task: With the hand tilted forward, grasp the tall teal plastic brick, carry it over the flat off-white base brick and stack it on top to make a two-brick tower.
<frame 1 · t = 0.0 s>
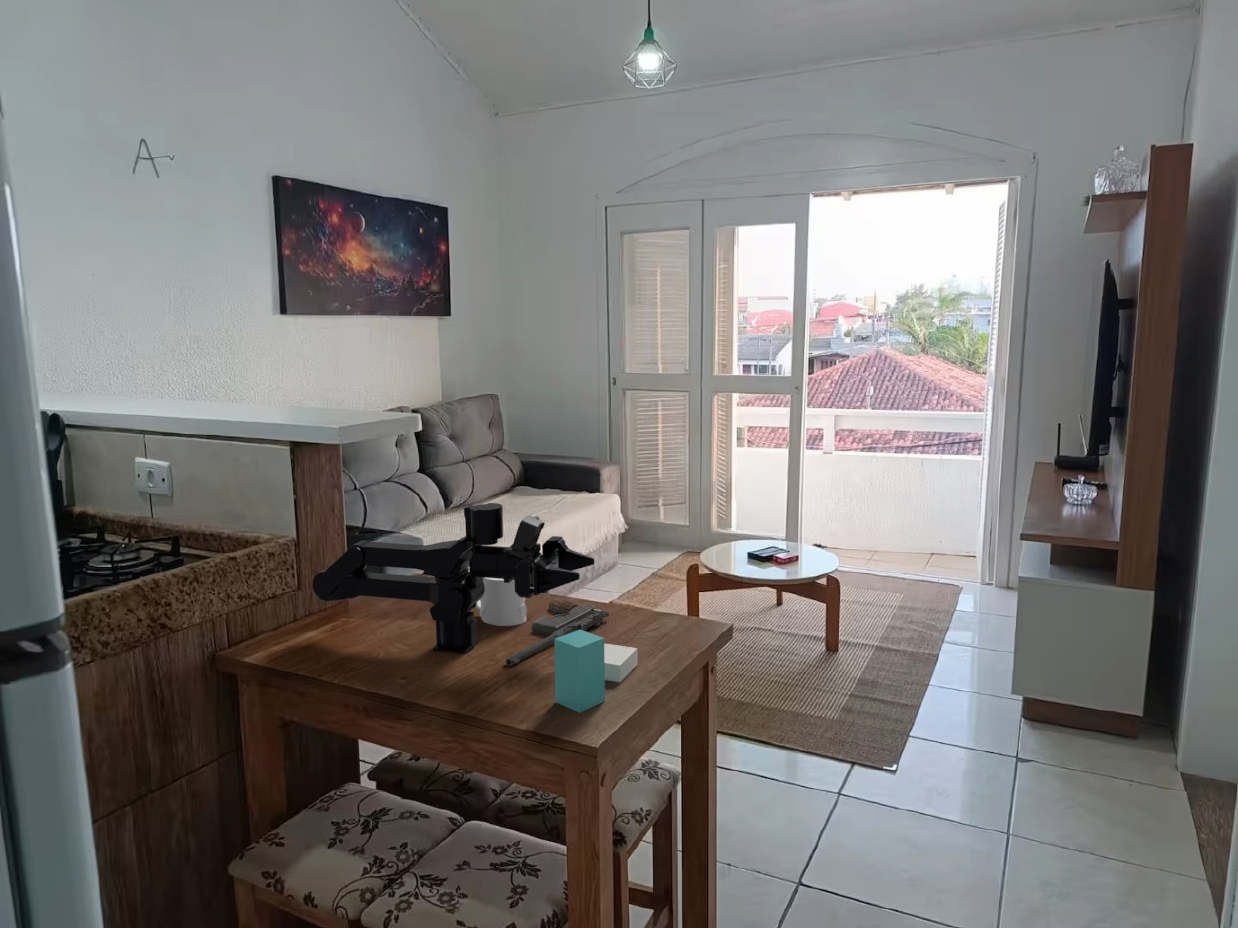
hand: (587, 568, 152), 17 cm above the table, tool horizontal, fingers open, 9 cm apart
tall brick: (580, 701, 138), on the table
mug: (498, 619, 176), on the table
base brick: (607, 669, 150), on the table
firearm: (539, 636, 168), on the table
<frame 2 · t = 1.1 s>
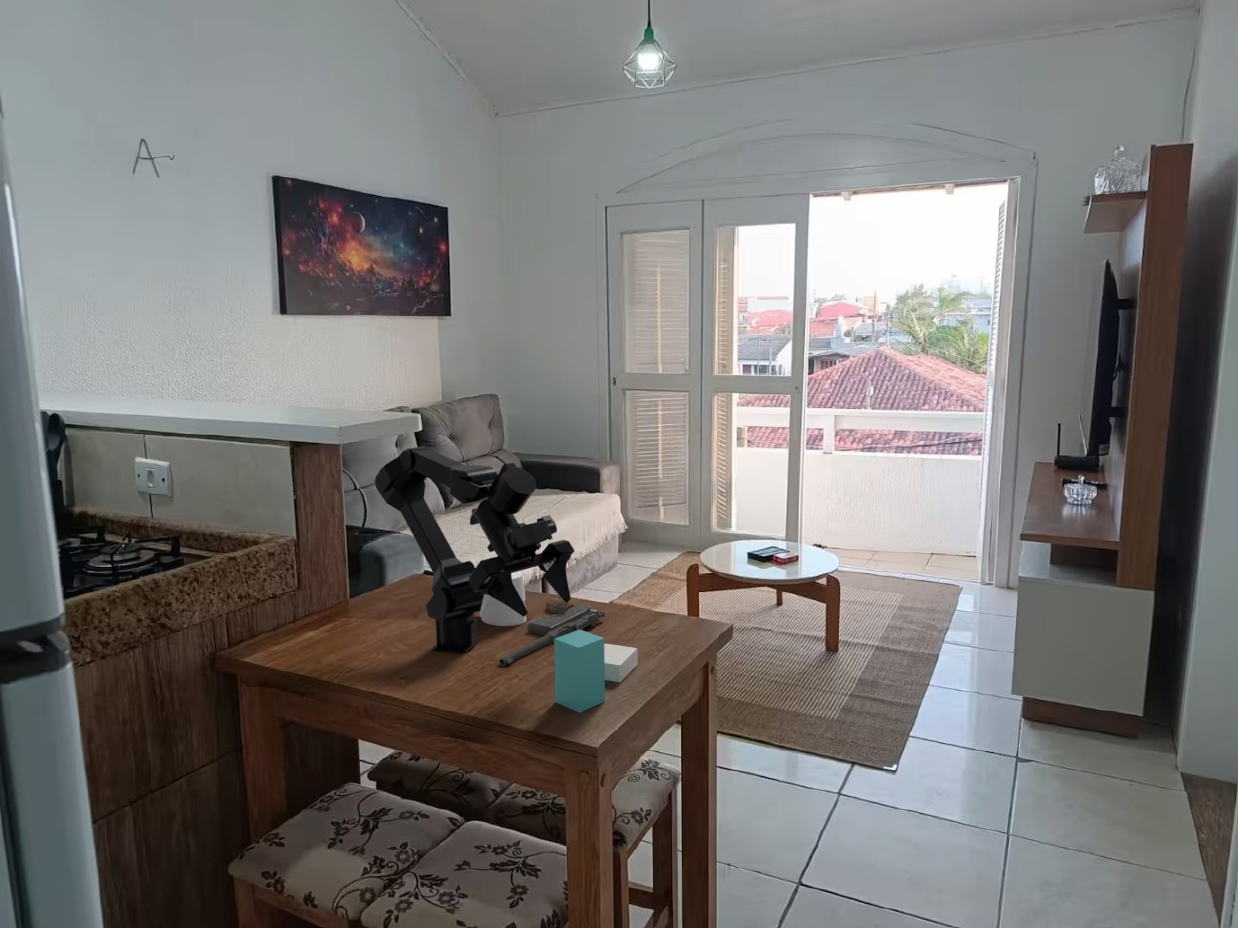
hand: (547, 607, 141), 14 cm above the table, tool tilted 45°, fingers open, 9 cm apart
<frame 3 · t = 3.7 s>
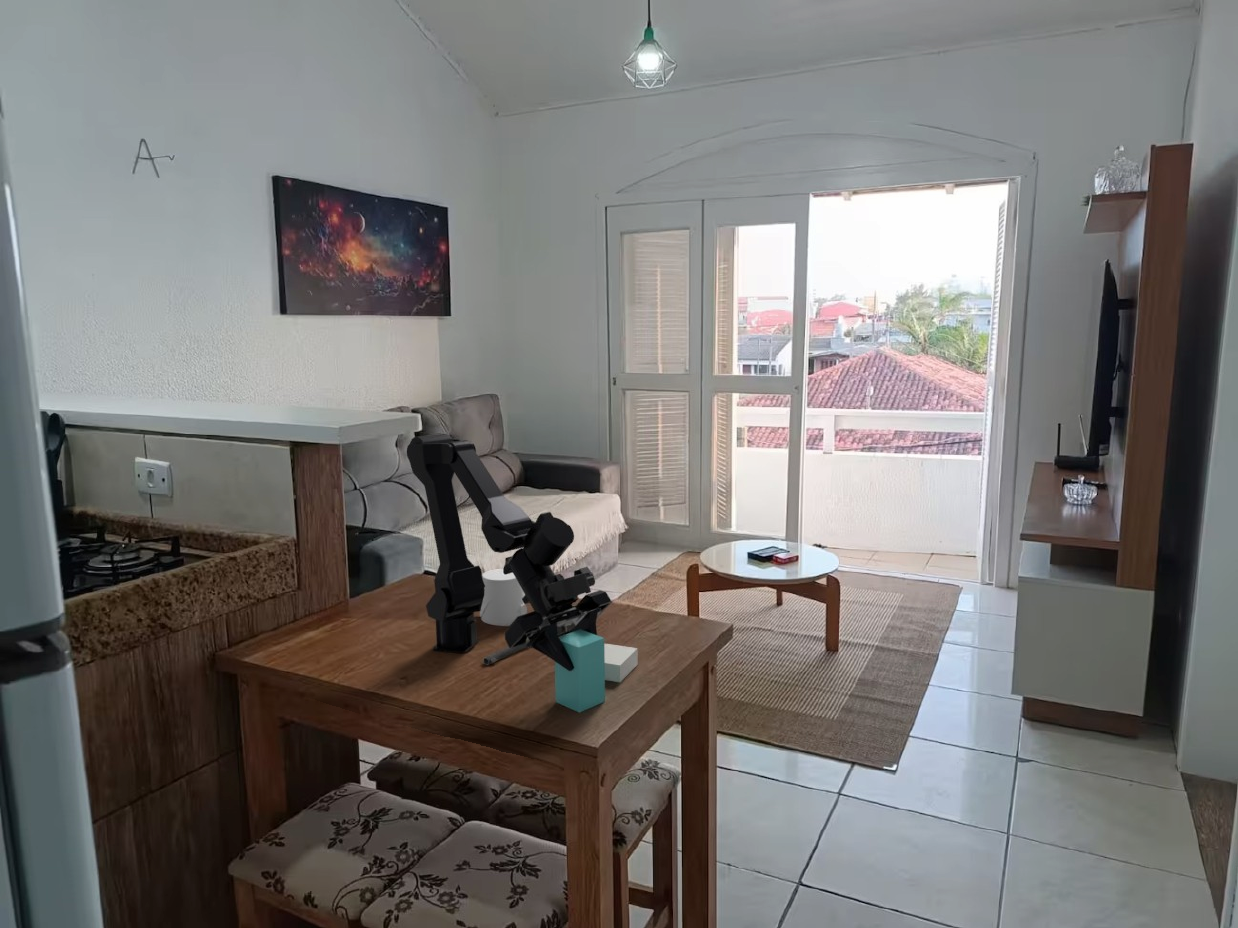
hand: (585, 664, 136), 7 cm above the table, tool tilted 45°, fingers closed on tall brick, 5 cm apart
tall brick: (580, 701, 138), on the table, touching gripper
firearm: (524, 636, 168), on the table
everything else where it was.
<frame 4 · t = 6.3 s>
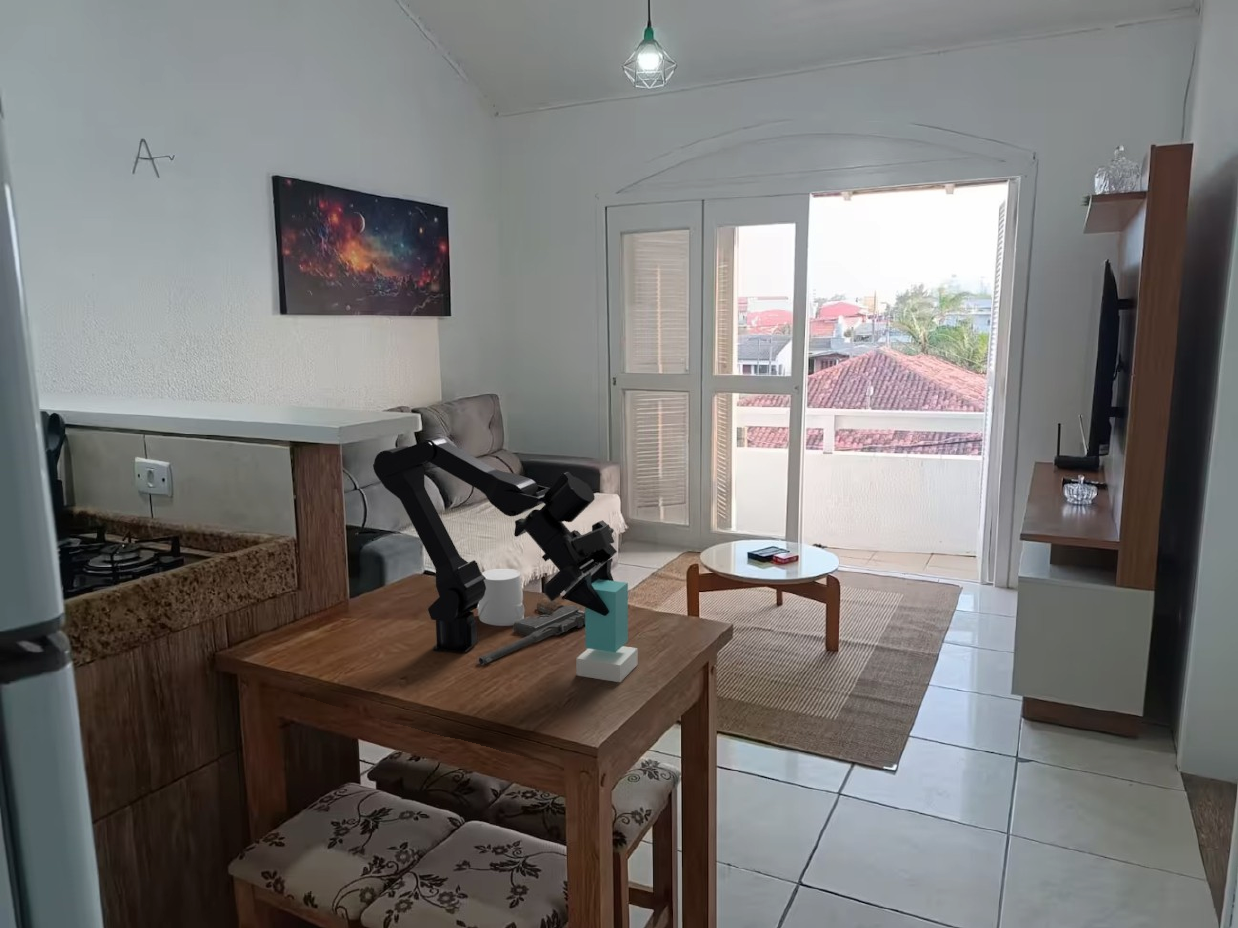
hand: (614, 608, 148), 11 cm above the table, tool tilted 45°, fingers closed on tall brick, 5 cm apart
tall brick: (606, 644, 149), point 5 cm above the table, touching gripper
when the fingers open (10 cm above the table, at t = 6.9 s): tall brick stays where it is, resting on base brick.
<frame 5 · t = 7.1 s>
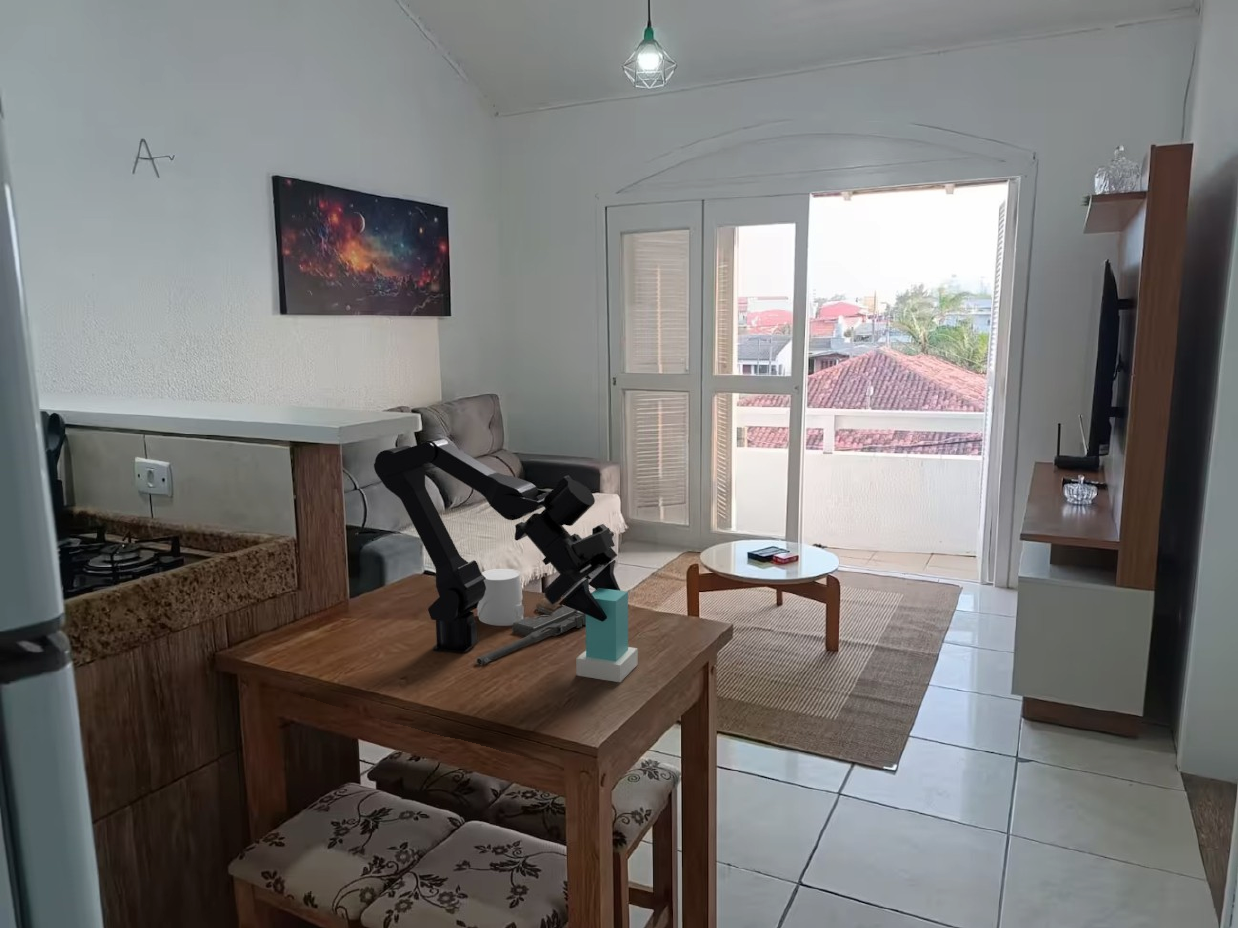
hand: (614, 611, 148), 11 cm above the table, tool tilted 45°, fingers open, 8 cm apart
tall brick: (607, 653, 150), point 3 cm above the table, touching base brick
everything else where it was.
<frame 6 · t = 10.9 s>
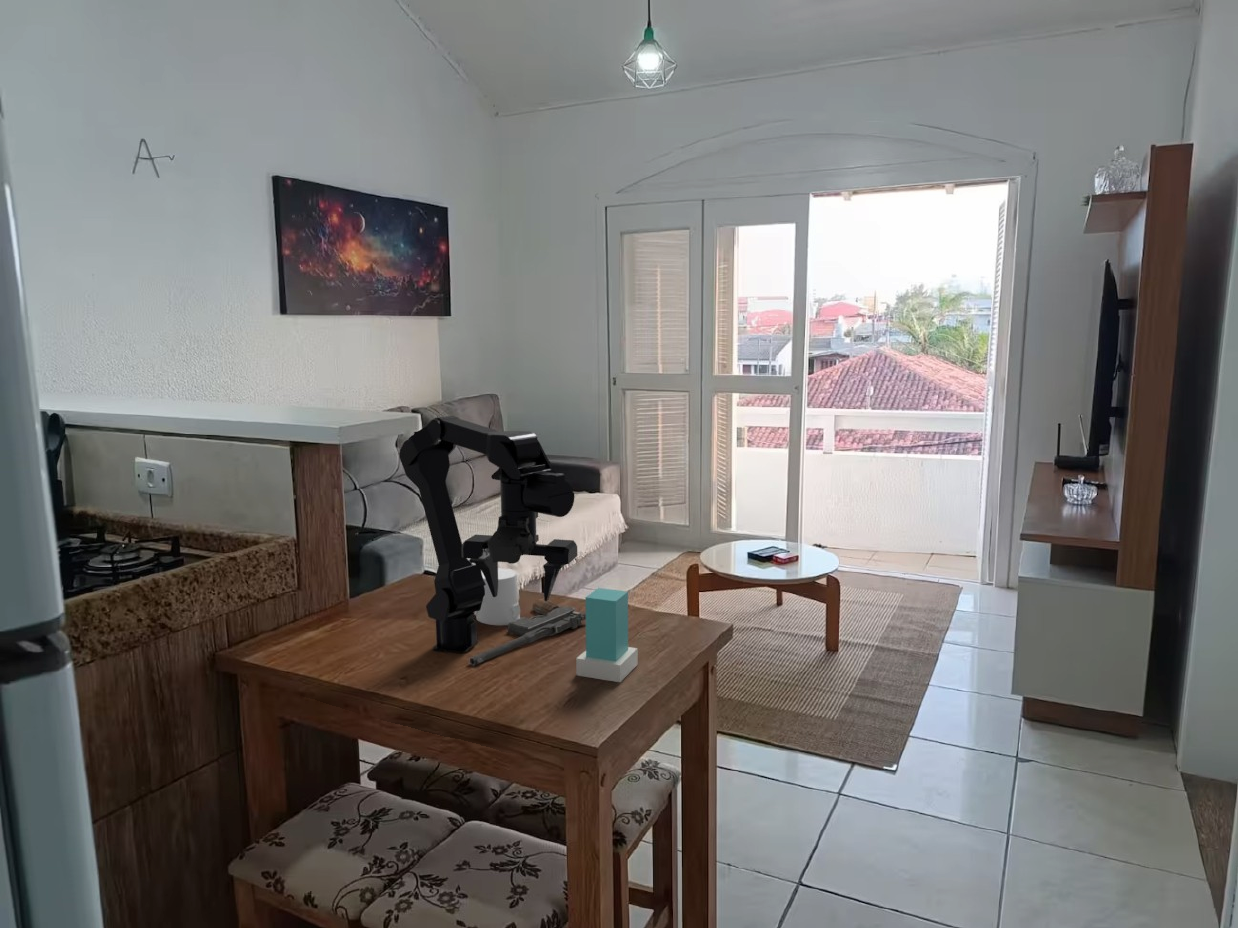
hand: (520, 598, 147), 13 cm above the table, tool pointing down, fingers open, 9 cm apart
at the end: tall brick 0.0 cm off-centre on the base brick, point 3.0 cm above the base brick's base; tall brick tilted 0°; the gripper is holding nothing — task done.
